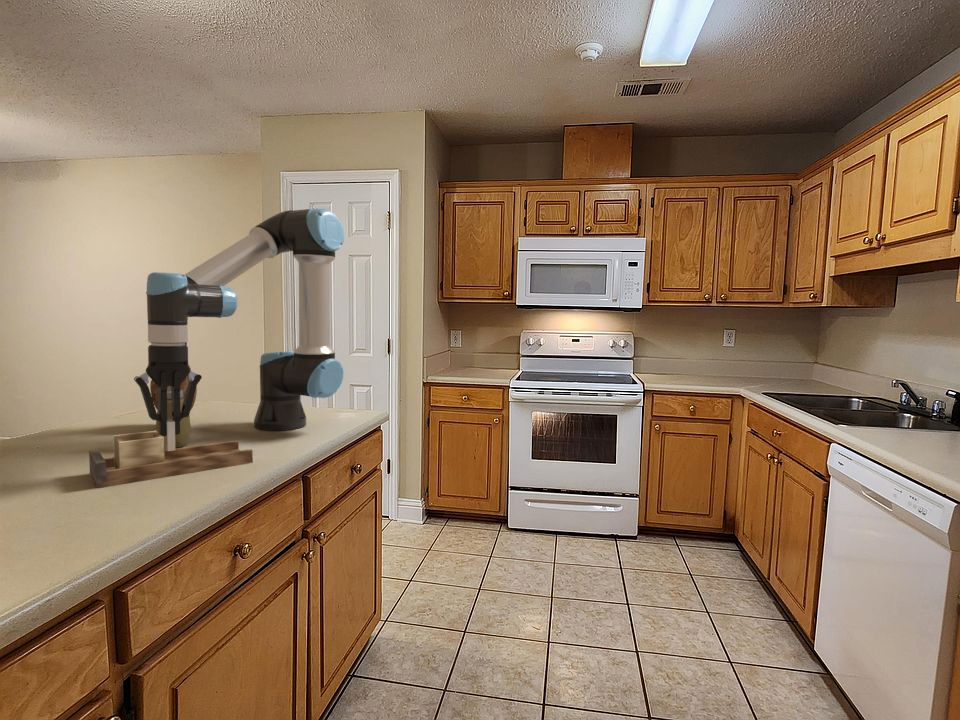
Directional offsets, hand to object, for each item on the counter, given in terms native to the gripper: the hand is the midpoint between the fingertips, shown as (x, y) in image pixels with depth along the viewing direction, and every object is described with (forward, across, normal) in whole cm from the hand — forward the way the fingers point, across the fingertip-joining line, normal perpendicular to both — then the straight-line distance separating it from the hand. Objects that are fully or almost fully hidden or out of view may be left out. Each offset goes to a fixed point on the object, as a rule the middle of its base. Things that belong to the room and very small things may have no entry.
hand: (170, 449), depth 117 cm
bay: (+4, -1, 0) cm, 5 cm away
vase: (+5, -10, -41) cm, 42 cm away
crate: (+3, +6, 0) cm, 7 cm away
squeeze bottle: (+5, -5, -20) cm, 21 cm away
